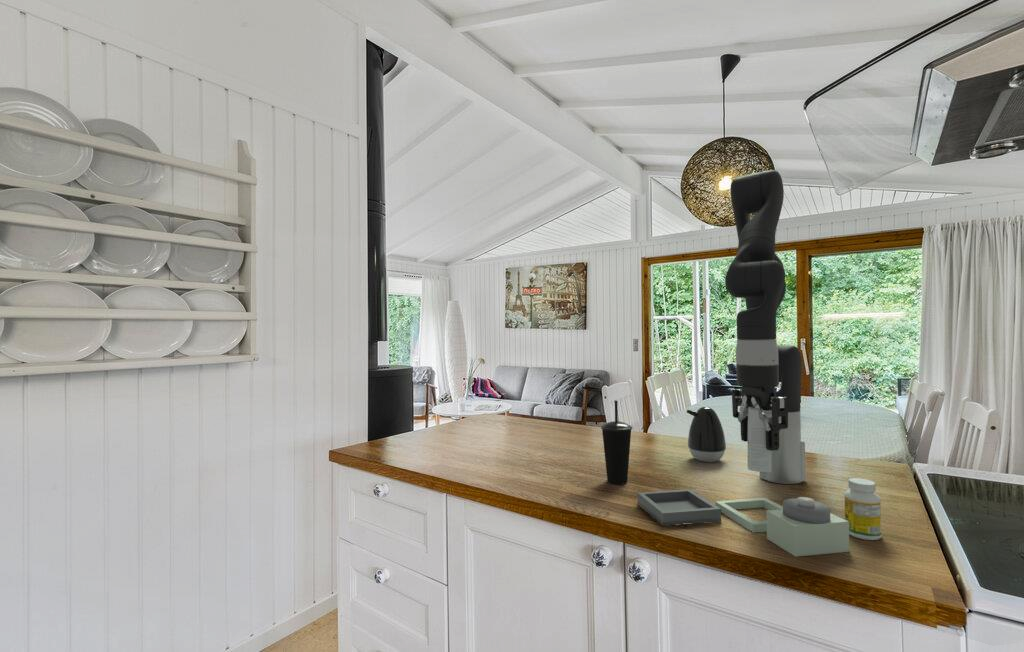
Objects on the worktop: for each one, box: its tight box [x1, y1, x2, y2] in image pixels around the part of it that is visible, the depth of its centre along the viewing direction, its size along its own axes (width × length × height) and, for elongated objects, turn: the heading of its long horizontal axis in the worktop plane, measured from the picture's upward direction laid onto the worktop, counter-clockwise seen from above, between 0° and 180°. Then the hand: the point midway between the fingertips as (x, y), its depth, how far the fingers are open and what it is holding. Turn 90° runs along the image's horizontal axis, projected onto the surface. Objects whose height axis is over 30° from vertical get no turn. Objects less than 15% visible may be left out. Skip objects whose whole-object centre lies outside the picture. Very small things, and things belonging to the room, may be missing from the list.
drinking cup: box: [600, 400, 633, 485], centre depth 121 cm, size 8×8×20 cm
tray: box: [637, 488, 722, 527], centre depth 100 cm, size 12×12×2 cm
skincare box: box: [747, 407, 772, 473], centre depth 97 cm, size 6×4×12 cm
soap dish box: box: [714, 496, 850, 558], centre depth 92 cm, size 11×22×8 cm, turn 9°
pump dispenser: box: [686, 406, 727, 463], centre depth 140 cm, size 10×10×15 cm
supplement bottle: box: [843, 477, 882, 541], centre depth 88 cm, size 5×5×10 cm
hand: (759, 445), depth 97 cm, fingers closed on skincare box, 7 cm apart
